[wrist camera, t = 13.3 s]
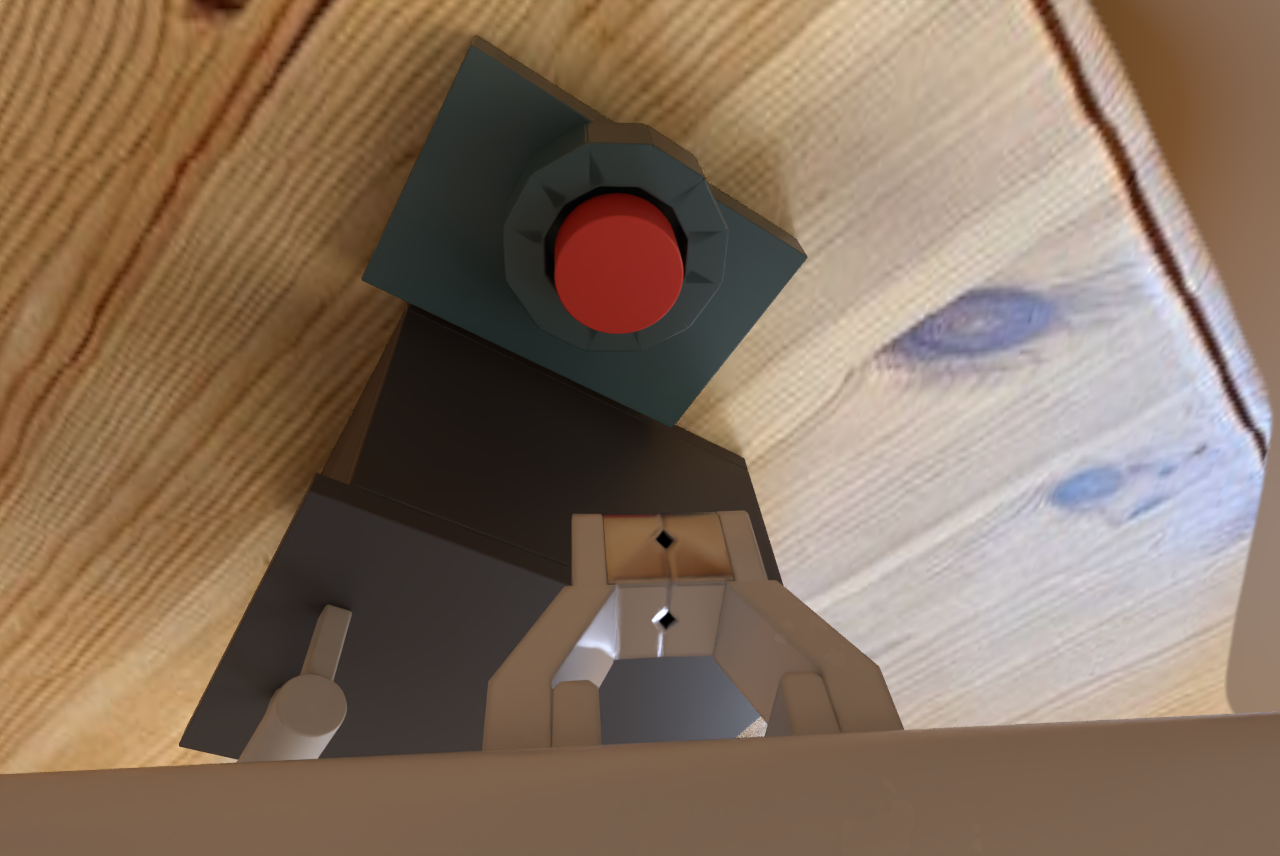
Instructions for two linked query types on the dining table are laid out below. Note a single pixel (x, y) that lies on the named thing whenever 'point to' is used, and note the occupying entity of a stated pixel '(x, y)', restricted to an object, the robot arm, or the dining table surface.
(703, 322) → the control block
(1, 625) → the dining table surface
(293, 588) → the lid
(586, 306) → the button
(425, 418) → the dark grey box
